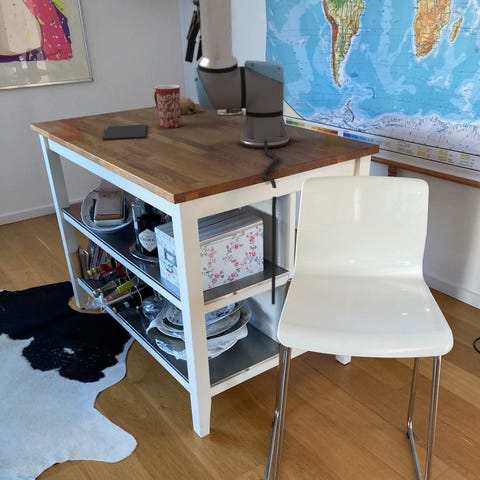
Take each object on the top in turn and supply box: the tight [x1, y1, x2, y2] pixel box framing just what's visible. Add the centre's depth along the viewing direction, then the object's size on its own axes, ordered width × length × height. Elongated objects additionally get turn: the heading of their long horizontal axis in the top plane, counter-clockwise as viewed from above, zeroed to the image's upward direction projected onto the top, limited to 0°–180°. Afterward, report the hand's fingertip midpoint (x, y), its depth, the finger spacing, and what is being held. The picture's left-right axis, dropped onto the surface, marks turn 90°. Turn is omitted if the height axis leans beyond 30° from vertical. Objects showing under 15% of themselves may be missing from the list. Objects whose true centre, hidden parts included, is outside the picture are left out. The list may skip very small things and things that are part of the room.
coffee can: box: [216, 109, 243, 116], centre depth 206 cm, size 10×10×14 cm
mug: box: [153, 84, 182, 129], centre depth 188 cm, size 13×9×14 cm
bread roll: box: [180, 95, 197, 116], centre depth 212 cm, size 10×10×8 cm
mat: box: [102, 124, 148, 141], centre depth 182 cm, size 20×14×1 cm
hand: (194, 61), depth 182 cm, fingers open, 13 cm apart
